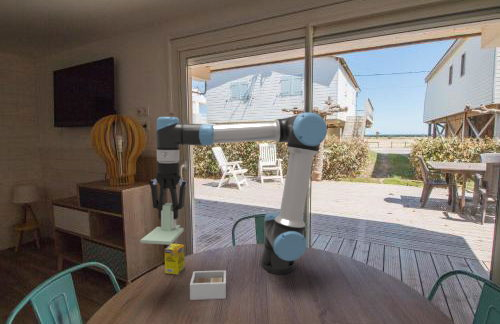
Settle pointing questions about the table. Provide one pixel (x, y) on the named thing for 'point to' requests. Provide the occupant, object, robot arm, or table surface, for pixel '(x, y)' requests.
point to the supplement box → (174, 259)
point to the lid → (164, 229)
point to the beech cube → (216, 280)
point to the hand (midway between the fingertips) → (168, 227)
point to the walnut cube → (201, 280)
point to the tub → (208, 285)
